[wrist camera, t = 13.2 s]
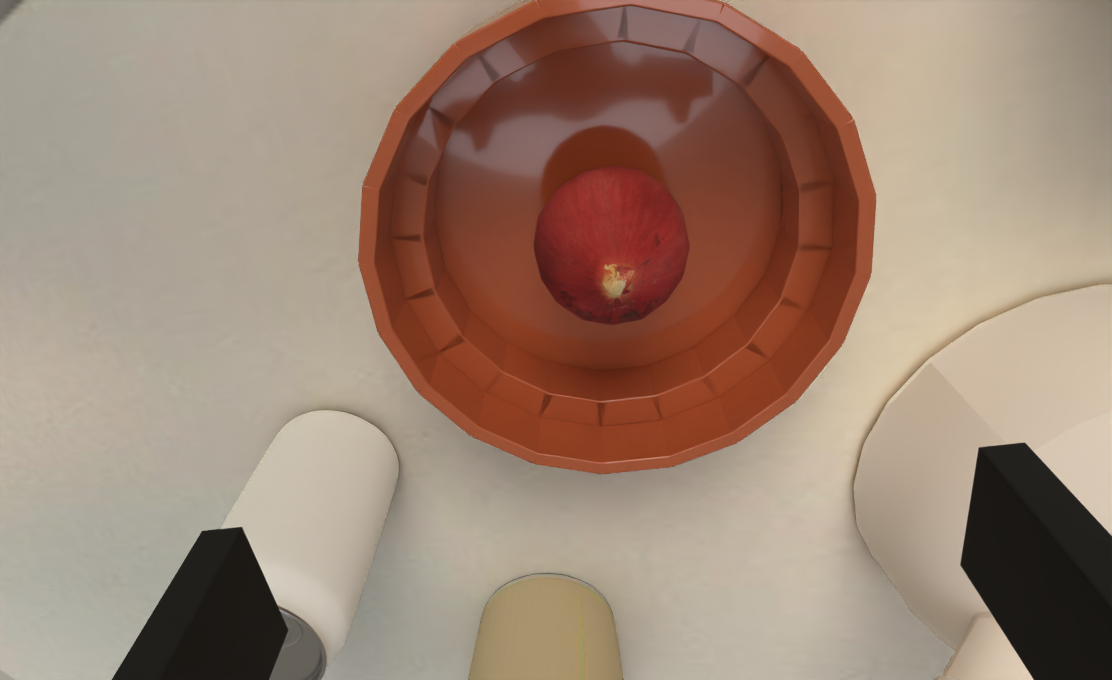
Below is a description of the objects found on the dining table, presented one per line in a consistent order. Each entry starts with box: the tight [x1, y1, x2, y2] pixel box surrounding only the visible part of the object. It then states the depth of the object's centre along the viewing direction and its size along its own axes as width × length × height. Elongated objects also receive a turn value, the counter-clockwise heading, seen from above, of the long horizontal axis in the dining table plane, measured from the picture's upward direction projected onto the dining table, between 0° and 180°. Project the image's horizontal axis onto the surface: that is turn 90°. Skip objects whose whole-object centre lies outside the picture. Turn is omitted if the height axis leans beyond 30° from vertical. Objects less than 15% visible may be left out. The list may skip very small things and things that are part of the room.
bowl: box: [358, 0, 876, 474], centre depth 29 cm, size 18×18×6 cm
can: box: [220, 410, 399, 680], centre depth 33 cm, size 6×6×12 cm
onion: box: [533, 165, 690, 325], centre depth 28 cm, size 6×6×8 cm
